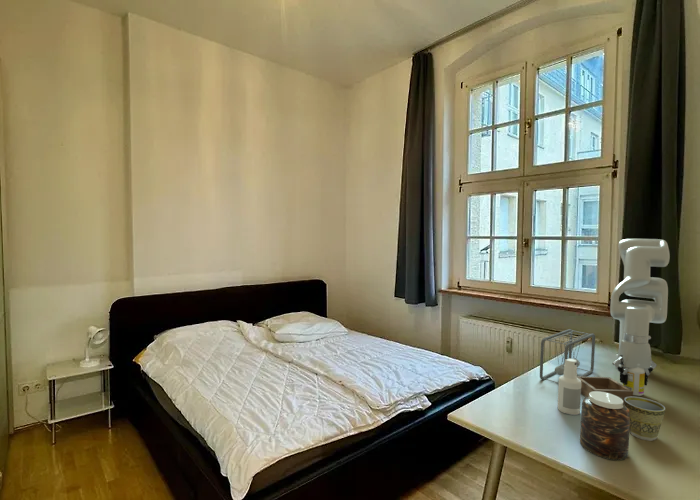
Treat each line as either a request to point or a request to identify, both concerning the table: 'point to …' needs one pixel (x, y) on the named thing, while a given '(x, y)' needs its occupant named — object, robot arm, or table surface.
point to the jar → (605, 426)
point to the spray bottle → (569, 389)
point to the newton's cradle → (566, 352)
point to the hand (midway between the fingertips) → (633, 383)
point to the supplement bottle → (636, 380)
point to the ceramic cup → (644, 417)
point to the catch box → (603, 386)
